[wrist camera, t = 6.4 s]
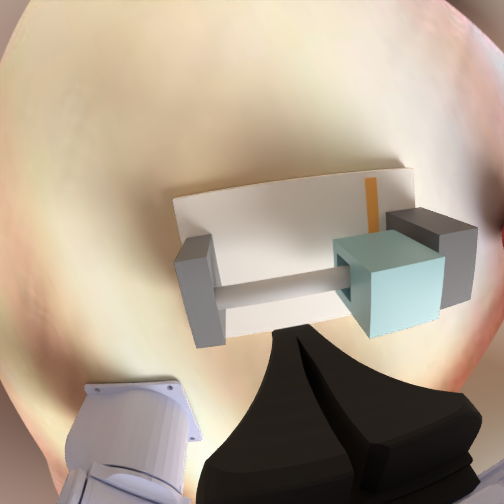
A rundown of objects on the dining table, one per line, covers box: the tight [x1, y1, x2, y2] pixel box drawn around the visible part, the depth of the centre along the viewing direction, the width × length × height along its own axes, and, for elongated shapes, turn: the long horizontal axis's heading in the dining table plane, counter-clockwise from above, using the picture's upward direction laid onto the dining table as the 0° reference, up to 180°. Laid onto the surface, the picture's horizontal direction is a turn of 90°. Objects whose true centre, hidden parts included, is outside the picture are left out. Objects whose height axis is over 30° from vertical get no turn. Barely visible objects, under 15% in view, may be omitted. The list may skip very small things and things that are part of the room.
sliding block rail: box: [172, 167, 478, 348], centre depth 17 cm, size 16×10×7 cm, turn 98°
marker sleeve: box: [332, 230, 445, 339], centre depth 15 cm, size 4×3×5 cm
